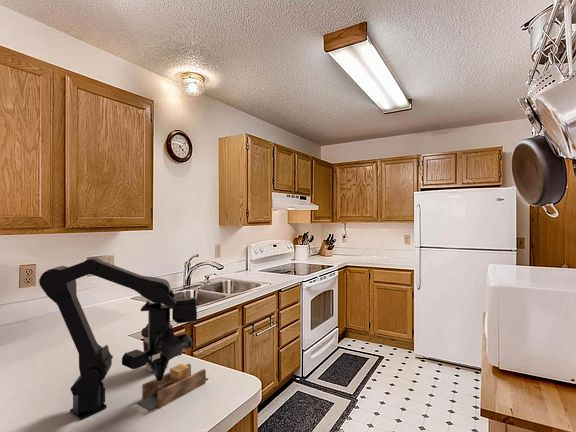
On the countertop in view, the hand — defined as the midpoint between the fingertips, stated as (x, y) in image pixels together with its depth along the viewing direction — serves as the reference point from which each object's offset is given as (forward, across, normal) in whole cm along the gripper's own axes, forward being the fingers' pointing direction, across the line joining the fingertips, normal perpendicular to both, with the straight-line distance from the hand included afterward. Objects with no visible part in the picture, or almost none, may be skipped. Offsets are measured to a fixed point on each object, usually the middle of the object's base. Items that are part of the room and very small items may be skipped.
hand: (159, 380), depth 90 cm
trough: (+5, +5, 0) cm, 7 cm away
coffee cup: (+5, +11, +18) cm, 22 cm away
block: (+3, +7, 0) cm, 8 cm away
